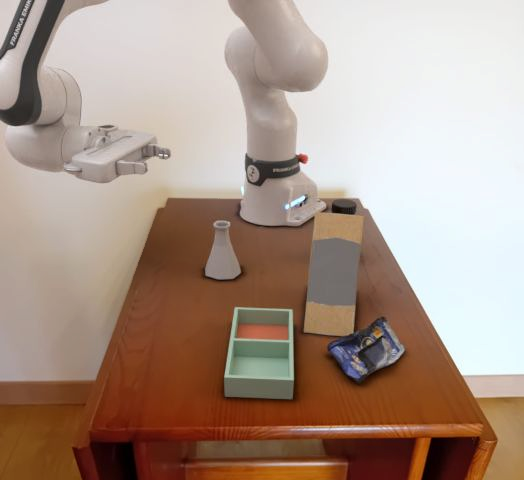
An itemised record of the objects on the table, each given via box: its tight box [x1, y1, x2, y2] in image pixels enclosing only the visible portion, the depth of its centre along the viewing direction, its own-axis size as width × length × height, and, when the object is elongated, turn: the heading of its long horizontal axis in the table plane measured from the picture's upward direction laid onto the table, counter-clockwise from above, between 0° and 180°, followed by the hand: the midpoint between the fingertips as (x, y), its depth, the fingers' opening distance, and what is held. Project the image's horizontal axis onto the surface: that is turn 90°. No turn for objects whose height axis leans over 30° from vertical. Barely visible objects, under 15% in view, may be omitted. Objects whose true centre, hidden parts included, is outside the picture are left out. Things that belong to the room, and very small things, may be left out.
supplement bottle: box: [330, 198, 358, 215], centre depth 108 cm, size 7×7×12 cm
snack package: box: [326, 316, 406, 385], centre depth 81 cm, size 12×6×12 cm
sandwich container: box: [303, 211, 365, 337], centre depth 90 cm, size 9×15×15 cm, turn 172°
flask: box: [204, 220, 242, 280], centre depth 103 cm, size 7×7×10 cm
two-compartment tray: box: [223, 306, 295, 400], centre depth 82 cm, size 18×10×4 cm, turn 178°
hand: (157, 161), depth 96 cm, fingers open, 8 cm apart
